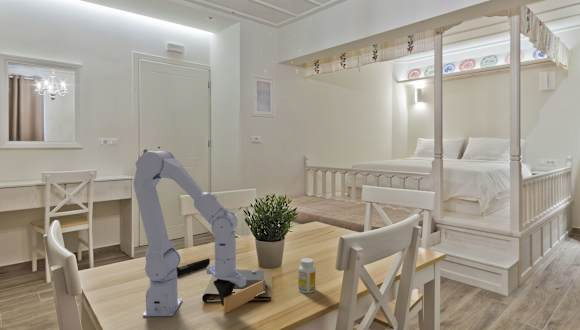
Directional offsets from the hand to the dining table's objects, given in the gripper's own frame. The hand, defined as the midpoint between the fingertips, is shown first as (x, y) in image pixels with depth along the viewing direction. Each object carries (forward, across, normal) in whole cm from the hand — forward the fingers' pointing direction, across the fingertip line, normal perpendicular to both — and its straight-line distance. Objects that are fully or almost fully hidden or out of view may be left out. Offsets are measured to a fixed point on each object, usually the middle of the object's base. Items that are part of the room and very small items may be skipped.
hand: (225, 304), depth 95 cm
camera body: (+1, +7, -13) cm, 15 cm away
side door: (+1, -1, -6) cm, 7 cm away
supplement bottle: (+2, -10, -25) cm, 27 cm away
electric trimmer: (+2, +32, -11) cm, 34 cm away
